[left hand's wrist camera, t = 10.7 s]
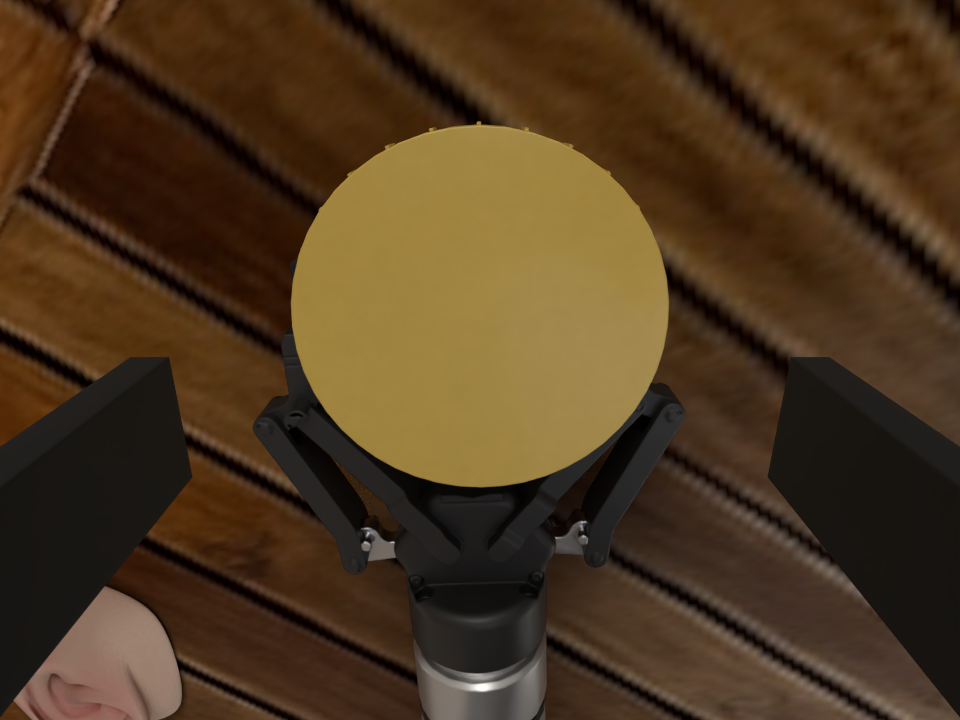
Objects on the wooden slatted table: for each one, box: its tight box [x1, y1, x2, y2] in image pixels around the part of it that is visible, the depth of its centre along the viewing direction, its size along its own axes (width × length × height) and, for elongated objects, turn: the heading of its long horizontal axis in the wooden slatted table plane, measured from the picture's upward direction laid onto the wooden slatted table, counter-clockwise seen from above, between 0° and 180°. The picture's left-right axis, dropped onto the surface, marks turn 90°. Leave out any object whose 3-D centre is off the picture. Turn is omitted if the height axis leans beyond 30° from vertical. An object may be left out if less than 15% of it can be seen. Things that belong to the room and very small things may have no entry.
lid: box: [291, 122, 669, 487], centre depth 19 cm, size 11×11×2 cm
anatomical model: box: [13, 586, 182, 720], centre depth 42 cm, size 13×4×12 cm
